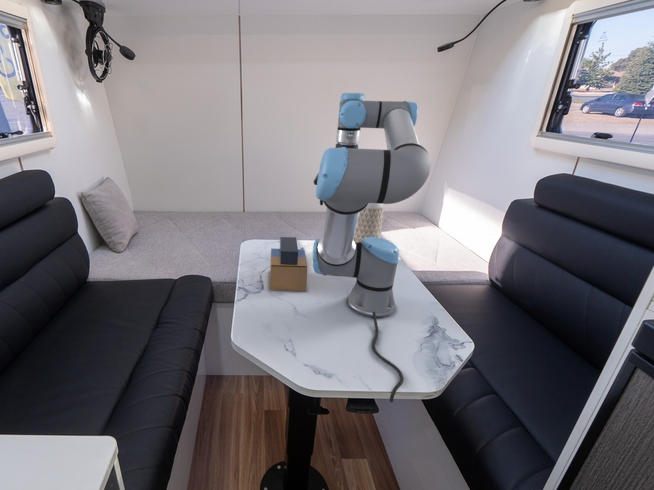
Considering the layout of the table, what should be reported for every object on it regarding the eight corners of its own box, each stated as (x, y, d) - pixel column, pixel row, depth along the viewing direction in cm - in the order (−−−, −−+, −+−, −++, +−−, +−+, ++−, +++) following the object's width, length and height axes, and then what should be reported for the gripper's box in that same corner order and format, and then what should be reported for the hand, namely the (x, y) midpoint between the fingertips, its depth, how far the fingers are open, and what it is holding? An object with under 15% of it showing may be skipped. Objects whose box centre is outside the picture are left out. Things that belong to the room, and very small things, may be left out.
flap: (271, 249, 145) (271, 248, 145) (304, 250, 144) (304, 249, 144) (271, 256, 138) (271, 256, 138) (305, 258, 138) (305, 257, 138)
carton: (270, 271, 149) (271, 248, 145) (302, 272, 149) (304, 249, 144) (269, 289, 136) (270, 264, 131) (305, 291, 135) (307, 265, 131)
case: (297, 264, 131) (298, 251, 129) (280, 264, 132) (281, 251, 129) (295, 249, 144) (296, 237, 142) (279, 249, 144) (280, 236, 142)
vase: (356, 266, 155) (367, 193, 142) (338, 254, 166) (347, 185, 153) (383, 262, 160) (396, 191, 146) (364, 250, 171) (374, 183, 158)
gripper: (311, 144, 122) (306, 206, 131) (387, 145, 122) (377, 208, 131) (309, 141, 129) (304, 201, 138) (381, 142, 128) (372, 202, 138)
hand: (340, 204), depth 135 cm, fingers open, 13 cm apart
